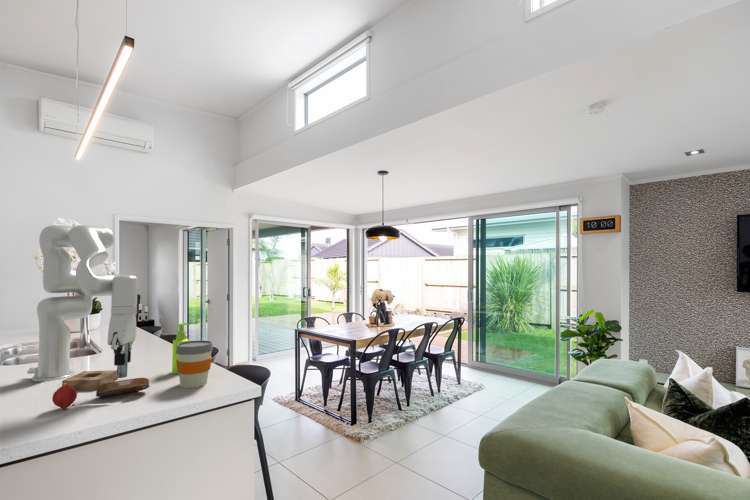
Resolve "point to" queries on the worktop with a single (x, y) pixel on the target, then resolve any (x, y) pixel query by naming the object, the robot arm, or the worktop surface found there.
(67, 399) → the onion
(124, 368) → the metal rod
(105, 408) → the worktop surface
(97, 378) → the rod stand
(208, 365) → the reusable coffee cup
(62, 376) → the robot arm
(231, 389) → the worktop surface
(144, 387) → the tin
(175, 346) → the soap dispenser
